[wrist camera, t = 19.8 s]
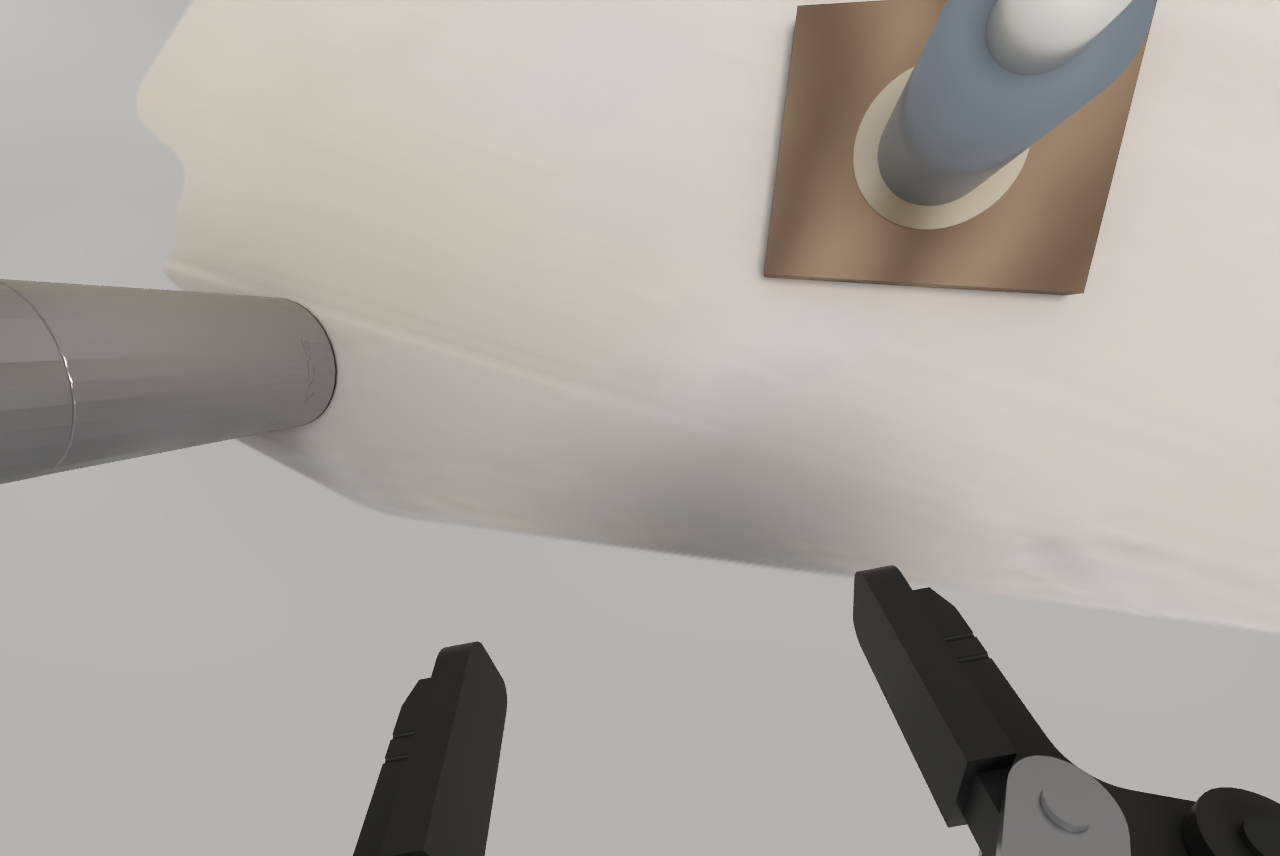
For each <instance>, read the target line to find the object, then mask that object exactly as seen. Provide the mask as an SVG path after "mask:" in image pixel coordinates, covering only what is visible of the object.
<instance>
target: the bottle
mask: <svg viewBox="0 0 1280 856" xmlns="http://www.w3.org/2000/svg"><path fill="white" fill-rule="evenodd" d="M1155 4H1156V0H947V1H946V3H945V5H944V7H943V9H942V11H941V13H940V15H939V17H938V19H937V21H936V23H935V25H934V27H933V30H932V32H931V34H930V36H929V38H928V40H927V42H926V44H925V46H924V48H923V50H922V52H921V54H920V56H919V58H918V60H917V63H916V65H915V67H914V69H913V71H912V73H911V75H910V77H909V79H908V81H907V83H906V85H905V87H904V89H903V91H902V94H901V96H900V98H899V100H898V102H897V104H896V106H895V108H894V110H893V112H892V114H891V116H890V118H889V120H888V122H887V124H886V127H885V129H884V131H883V133H882V136H881V139H880V143H879V147H878V165H879V170H880V173H881V176H882V178H883V180H884V182H885V184H886V185H887V187H888V188H889V189H890V190H891V191H892V192H893V193H894V194H895V195H896V196H898V197H899V198H901V199H902V200H904V201H906V202H909V203H912V204H916V205H922V206H936V205H942V204H946V203H950V202H952V201H955V200H957V199H959V198H961V197H963V196H965V195H967V194H968V193H969V192H971V191H972V190H974V189H975V188H976V187H978V186H979V185H980V184H982V183H983V182H984V181H986V180H987V179H988V178H989V177H991V176H992V175H993V174H995V173H996V172H997V171H999V170H1000V169H1001V168H1003V167H1004V166H1005V165H1007V164H1008V163H1009V162H1011V161H1012V160H1013V159H1014V158H1016V157H1017V156H1018V155H1020V154H1021V153H1022V152H1024V151H1025V150H1026V149H1028V148H1029V147H1030V146H1032V145H1033V144H1034V143H1036V142H1037V141H1038V140H1040V139H1041V138H1042V137H1043V136H1045V135H1046V134H1047V133H1049V132H1050V131H1051V130H1053V129H1054V128H1055V127H1057V126H1058V125H1059V124H1061V123H1062V122H1063V121H1065V120H1066V119H1067V118H1068V117H1070V116H1071V115H1072V114H1074V113H1075V112H1076V111H1078V110H1079V109H1080V108H1082V107H1083V106H1084V105H1086V104H1087V103H1088V102H1090V101H1091V100H1092V99H1093V98H1095V97H1096V96H1097V95H1099V94H1100V93H1101V92H1102V91H1104V90H1105V89H1106V88H1107V87H1108V86H1109V85H1111V84H1112V83H1113V82H1114V81H1115V80H1116V79H1117V78H1118V77H1119V76H1120V75H1121V73H1122V72H1123V71H1124V70H1125V69H1126V68H1127V66H1128V65H1129V64H1130V62H1131V61H1132V60H1133V58H1134V57H1135V55H1136V54H1137V52H1138V50H1139V49H1140V47H1141V45H1142V44H1143V41H1144V39H1145V37H1146V35H1147V33H1148V31H1149V28H1150V24H1151V21H1152V18H1153V15H1154V9H1155Z"/></svg>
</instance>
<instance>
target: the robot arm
mask: <svg viewBox="0 0 1280 856" xmlns="http://www.w3.org/2000/svg"><path fill="white" fill-rule="evenodd" d="M334 384H335V364H334V356H333V353H332V349H331V346H330V343H329V340H328V338H327V336H326V334H325V332H324V330H323V329H322V327H321V326H320V324H319V323H318V322H317V320H316V319H315V318H314V317H313V316H312V315H311V314H310V313H309V312H308V311H307V310H306V309H305V308H303V307H301V306H300V305H298V304H297V303H295V302H292V301H289V300H287V299H283V298H269V297H255V296H241V295H228V294H217V293H201V292H186V291H171V290H156V289H141V288H125V287H111V286H96V285H95V286H94V285H81V284H80V285H79V284H66V283H51V282H35V281H20V280H4V279H0V484H4V483H9V482H13V481H19V480H24V479H29V478H34V477H38V476H43V475H48V474H53V473H58V472H64V471H69V470H74V469H79V468H84V467H89V466H94V465H100V464H104V463H110V462H115V461H120V460H125V459H130V458H136V457H141V456H145V455H151V454H156V453H161V452H167V451H171V450H176V449H182V448H187V447H192V446H197V445H202V444H208V443H212V442H218V441H223V440H228V439H233V438H239V437H244V436H250V435H255V434H260V433H265V432H270V431H276V430H281V429H286V428H291V427H296V426H301V425H304V424H307V423H309V422H311V421H313V420H314V419H316V418H317V417H318V416H320V414H321V413H322V412H323V411H324V409H325V408H326V407H327V405H328V403H329V401H330V398H331V396H332V392H333V388H334ZM853 621H854V627H855V631H856V634H857V638H858V641H859V643H860V646H861V648H862V650H863V652H864V654H865V656H866V658H867V660H868V662H869V665H870V667H871V669H872V671H873V673H874V675H875V677H876V679H877V681H878V683H879V685H880V687H881V690H882V691H883V694H884V696H885V698H886V700H887V702H888V704H889V706H890V708H891V710H892V712H893V714H894V716H895V719H896V720H897V723H898V725H899V727H900V729H901V731H902V733H903V735H904V737H905V739H906V741H907V743H908V745H909V748H910V750H911V752H912V754H913V756H914V758H915V760H916V762H917V764H918V766H919V768H920V770H921V772H922V774H923V777H924V779H925V781H926V783H927V785H928V787H929V789H930V791H931V793H932V795H933V797H934V799H935V801H936V804H937V806H938V808H939V810H940V812H941V814H942V816H943V818H944V820H945V822H946V824H947V826H948V827H954V826H959V825H966V824H968V826H969V828H970V830H971V832H972V834H973V836H974V838H975V840H976V842H977V844H978V846H979V848H980V850H979V856H1280V804H1279V803H1276V802H1275V801H1273V800H1271V799H1269V798H1267V797H1264V796H1261V795H1259V794H1256V793H1254V792H1250V791H1246V790H1243V789H1237V788H1216V789H1211V790H1209V791H1207V792H1205V793H1204V794H1203V795H1202V796H1201V797H1200V798H1199V799H1198V800H1197V801H1196V802H1194V801H1189V800H1183V799H1178V798H1171V797H1166V796H1161V795H1155V794H1149V793H1144V792H1139V791H1133V790H1128V789H1124V788H1119V787H1116V786H1113V785H1110V784H1108V783H1105V782H1103V781H1101V780H1099V779H1097V778H1094V777H1093V776H1091V775H1089V774H1088V773H1086V772H1085V771H1083V770H1081V769H1080V768H1078V767H1077V766H1075V765H1074V764H1072V763H1071V762H1070V761H1069V760H1068V759H1067V758H1065V757H1064V756H1063V755H1062V754H1061V753H1060V752H1059V751H1058V750H1057V749H1056V748H1055V747H1054V745H1053V744H1052V743H1051V742H1050V740H1049V739H1048V738H1047V736H1046V735H1045V734H1044V732H1043V731H1042V729H1041V728H1040V726H1039V725H1038V724H1037V722H1036V721H1035V720H1034V718H1033V717H1032V715H1031V714H1030V712H1029V711H1028V710H1027V708H1026V707H1025V705H1024V704H1023V702H1022V701H1021V700H1020V698H1019V697H1018V696H1017V694H1016V693H1015V691H1014V690H1013V688H1012V687H1011V685H1010V684H1009V683H1008V681H1007V680H1006V679H1005V677H1004V676H1003V674H1002V673H1001V671H1000V670H999V668H998V667H997V666H996V664H995V663H994V661H993V660H992V659H991V658H989V657H988V654H987V652H986V650H985V649H984V647H983V646H982V644H981V643H980V642H979V640H978V639H977V637H974V635H973V632H972V630H971V629H970V628H969V626H968V625H967V623H966V622H965V620H964V619H963V618H962V616H961V615H960V613H959V612H958V611H957V609H956V608H955V607H954V606H953V605H952V604H951V603H949V602H948V601H947V600H945V599H944V598H943V597H941V596H940V595H939V594H937V593H936V592H935V591H933V590H932V589H931V588H929V587H928V588H923V589H918V590H912V589H911V587H910V586H909V584H908V583H907V581H906V579H905V578H904V576H903V575H902V573H901V572H900V571H899V569H898V568H897V567H895V566H893V565H891V566H886V567H880V568H875V569H870V570H864V571H859V572H856V573H855V580H854V606H853ZM506 709H507V694H506V688H505V684H504V681H503V679H502V677H501V675H500V674H499V672H498V670H497V669H496V667H495V665H494V664H493V662H492V660H491V658H490V657H489V655H488V653H487V652H486V650H485V649H484V647H483V645H482V644H481V643H480V642H472V643H467V644H461V645H456V646H451V647H445V648H443V649H442V650H441V651H440V652H439V654H438V657H437V659H436V663H435V666H434V670H433V673H432V676H431V678H427V679H421V680H419V681H418V683H417V684H416V686H415V687H414V689H413V690H412V692H411V693H410V695H409V696H408V698H407V699H406V701H405V702H404V704H403V705H402V707H401V710H400V713H399V717H398V720H397V722H396V726H395V729H394V732H393V739H392V740H391V741H390V744H389V747H388V750H387V753H386V756H385V759H386V761H385V764H383V765H382V768H381V772H380V775H379V778H378V781H377V784H376V787H375V790H374V793H373V796H372V799H371V802H370V805H369V808H368V811H367V814H366V818H365V821H364V824H363V827H362V830H361V833H360V836H359V839H358V842H357V845H356V848H355V851H354V854H353V856H484V855H485V849H486V841H487V836H488V829H489V823H490V816H491V809H492V803H493V796H494V790H495V783H496V777H497V769H498V763H499V757H500V750H501V743H502V737H503V730H504V724H505V717H506Z"/></svg>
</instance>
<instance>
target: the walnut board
mask: <svg viewBox="0 0 1280 856" xmlns="http://www.w3.org/2000/svg"><path fill="white" fill-rule="evenodd" d="M946 1H947V0H883V1H867V2H851V3H835V4H819V5H803V6H798V8H797V15H796V23H795V31H794V39H793V47H792V55H791V63H790V71H789V79H788V86H787V94H786V102H785V110H784V118H783V126H782V134H781V142H780V150H779V157H778V165H777V173H776V181H775V189H774V197H773V205H772V213H771V221H770V229H769V236H768V244H767V252H766V260H765V268H764V276H765V277H774V278H790V279H807V280H824V281H840V282H857V283H873V284H890V285H906V286H923V287H939V288H956V289H973V290H989V291H1006V292H1022V293H1039V294H1055V295H1071V294H1079V293H1084V289H1085V285H1086V281H1087V277H1088V274H1089V270H1090V266H1091V262H1092V258H1093V254H1094V250H1095V246H1096V242H1097V238H1098V234H1099V230H1100V226H1101V222H1102V218H1103V214H1104V210H1105V206H1106V202H1107V198H1108V194H1109V190H1110V186H1111V182H1112V178H1113V174H1114V170H1115V166H1116V162H1117V158H1118V154H1119V150H1120V146H1121V142H1122V138H1123V134H1124V130H1125V126H1126V122H1127V118H1128V114H1129V110H1130V106H1131V102H1132V98H1133V94H1134V90H1135V86H1136V82H1137V78H1138V74H1139V70H1140V66H1141V62H1142V58H1143V54H1144V50H1145V46H1146V42H1147V38H1148V34H1149V31H1148V33H1147V35H1146V37H1145V39H1144V41H1143V44H1142V45H1141V47H1140V49H1139V50H1138V52H1137V54H1136V55H1135V57H1134V58H1133V60H1132V61H1131V62H1130V64H1129V65H1128V66H1127V68H1126V69H1125V70H1124V71H1123V72H1122V73H1121V75H1120V76H1119V77H1118V78H1117V79H1116V80H1115V81H1114V82H1113V83H1112V84H1111V85H1109V86H1108V87H1107V88H1106V89H1105V90H1104V91H1102V92H1101V93H1100V94H1099V95H1097V96H1096V97H1095V98H1093V99H1092V100H1091V101H1090V102H1088V103H1087V104H1086V105H1084V106H1083V107H1082V108H1080V109H1079V110H1078V111H1076V112H1075V113H1074V114H1072V115H1071V116H1070V117H1068V118H1067V119H1066V120H1065V121H1063V122H1062V123H1061V124H1059V125H1058V126H1057V127H1055V128H1054V129H1053V130H1051V131H1050V132H1049V133H1047V134H1046V135H1045V136H1043V137H1042V138H1041V139H1040V140H1038V141H1037V142H1036V143H1034V144H1033V145H1032V146H1030V147H1029V148H1028V149H1026V150H1025V151H1024V152H1022V153H1021V154H1020V155H1018V156H1017V157H1016V158H1014V159H1013V160H1012V161H1011V162H1009V163H1008V164H1007V165H1005V166H1004V167H1003V168H1001V169H1000V170H999V171H997V172H996V173H995V174H993V175H992V176H991V177H989V178H988V179H987V180H986V181H984V182H983V183H982V184H980V185H979V186H978V187H976V188H975V189H974V190H972V191H971V192H969V193H968V194H967V195H965V196H963V197H961V198H959V199H957V200H955V201H952V202H950V203H946V204H942V205H936V206H922V205H916V204H912V203H909V202H906V201H904V200H902V199H901V198H899V197H898V196H896V195H895V194H894V193H893V192H892V191H891V190H890V189H889V188H888V187H887V185H886V184H885V182H884V180H883V178H882V176H881V173H880V170H879V165H878V147H879V143H880V139H881V136H882V133H883V131H884V129H885V127H886V124H887V122H888V120H889V118H890V116H891V114H892V112H893V110H894V108H895V106H896V104H897V102H898V100H899V98H900V96H901V94H902V91H903V89H904V87H905V85H906V83H907V81H908V79H909V77H910V75H911V73H912V71H913V69H914V67H915V65H916V63H917V60H918V58H919V56H920V54H921V52H922V50H923V48H924V46H925V44H926V42H927V40H928V38H929V36H930V34H931V32H932V30H933V27H934V25H935V23H936V21H937V19H938V17H939V15H940V13H941V11H942V9H943V7H944V5H945V3H946ZM1156 2H1157V0H1156ZM1155 6H1156V4H1155ZM1154 10H1155V9H1154ZM1151 22H1152V21H1151ZM1150 26H1151V24H1150ZM1149 30H1150V28H1149Z"/></svg>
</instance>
